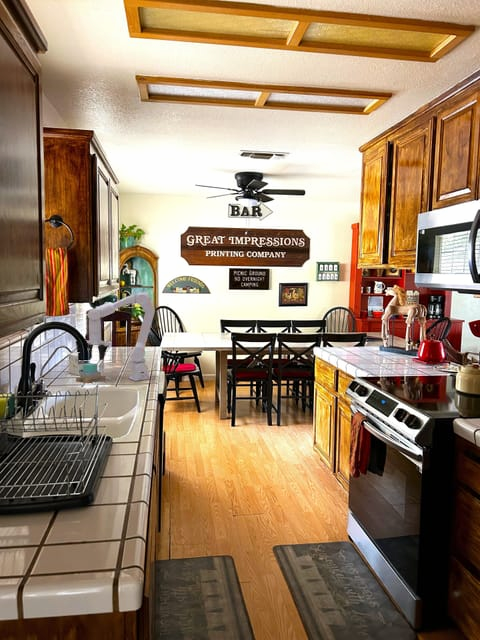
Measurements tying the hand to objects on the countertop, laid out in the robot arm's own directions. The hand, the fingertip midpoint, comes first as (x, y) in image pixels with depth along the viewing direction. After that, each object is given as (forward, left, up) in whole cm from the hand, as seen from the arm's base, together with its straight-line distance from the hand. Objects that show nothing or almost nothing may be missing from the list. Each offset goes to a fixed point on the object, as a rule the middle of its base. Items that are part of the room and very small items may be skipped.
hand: (95, 359), depth 243 cm
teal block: (-2, +3, -6) cm, 7 cm away
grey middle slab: (-1, +3, -9) cm, 9 cm away
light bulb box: (+21, +3, -11) cm, 23 cm away
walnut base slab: (-1, +3, -11) cm, 12 cm away
